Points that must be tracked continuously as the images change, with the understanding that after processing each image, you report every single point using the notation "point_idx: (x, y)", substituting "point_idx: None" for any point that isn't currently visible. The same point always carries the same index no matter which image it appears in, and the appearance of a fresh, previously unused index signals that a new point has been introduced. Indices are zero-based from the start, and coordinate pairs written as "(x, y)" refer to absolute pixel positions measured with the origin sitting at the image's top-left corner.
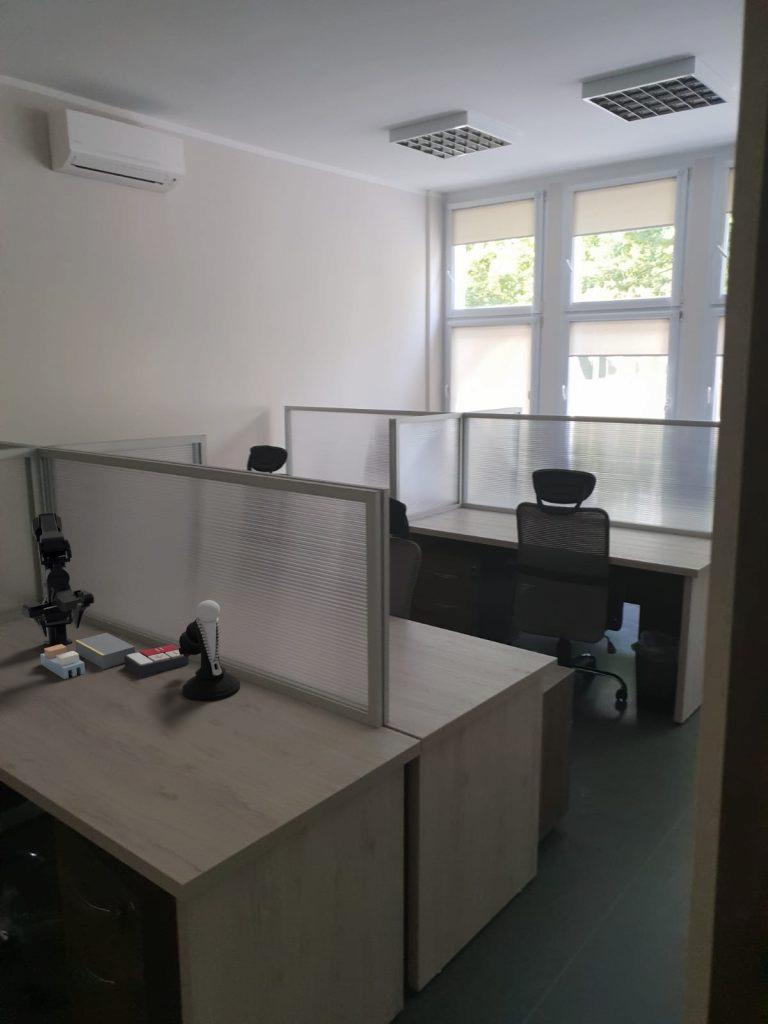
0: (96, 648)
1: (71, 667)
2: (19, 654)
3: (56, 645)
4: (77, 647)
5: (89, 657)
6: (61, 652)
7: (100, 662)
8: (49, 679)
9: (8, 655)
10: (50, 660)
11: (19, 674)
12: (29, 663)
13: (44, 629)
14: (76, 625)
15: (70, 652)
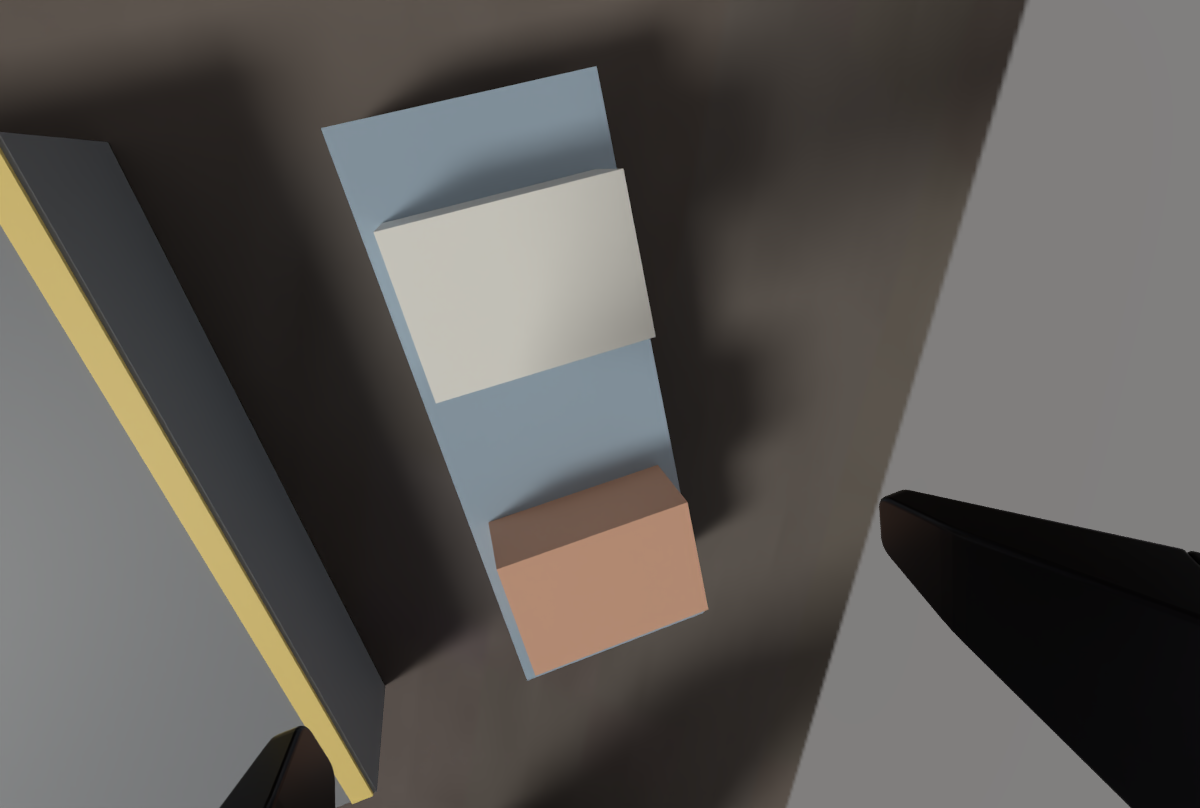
0: (120, 492)
1: (495, 91)
2: (743, 771)
3: (588, 652)
4: (367, 713)
5: (263, 484)
6: (551, 520)
7: (116, 220)
8: (685, 173)
9: (797, 771)
10: (664, 418)
11: (838, 424)
12: (731, 605)
13: (1069, 538)
14: (300, 796)
15: (478, 356)
